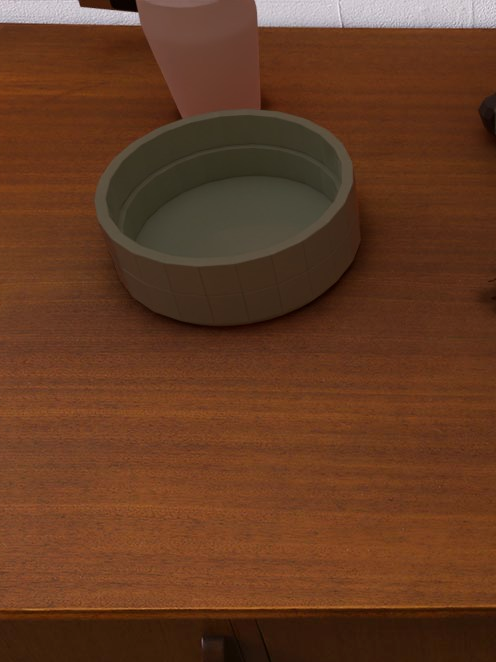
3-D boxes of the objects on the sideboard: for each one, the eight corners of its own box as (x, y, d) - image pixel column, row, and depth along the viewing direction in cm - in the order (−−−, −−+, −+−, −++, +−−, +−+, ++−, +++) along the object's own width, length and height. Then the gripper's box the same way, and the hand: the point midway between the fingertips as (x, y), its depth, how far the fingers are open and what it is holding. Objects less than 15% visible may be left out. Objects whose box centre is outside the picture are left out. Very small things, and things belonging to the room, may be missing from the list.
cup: (289, 89, 89) (266, -42, 80) (253, 148, 83) (224, 14, 74) (192, 78, 90) (159, -52, 81) (150, 136, 84) (109, 2, 75)
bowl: (77, 316, 69) (49, 250, 65) (171, 163, 81) (153, 99, 77) (326, 343, 68) (314, 278, 63) (384, 184, 80) (378, 120, 75)
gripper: (77, -258, 83) (131, -42, 96) (-20, -193, 72) (56, 42, 85) (165, -251, 82) (207, -34, 95) (81, -184, 71) (141, 50, 84)
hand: (136, 0), depth 90 cm, fingers closed
